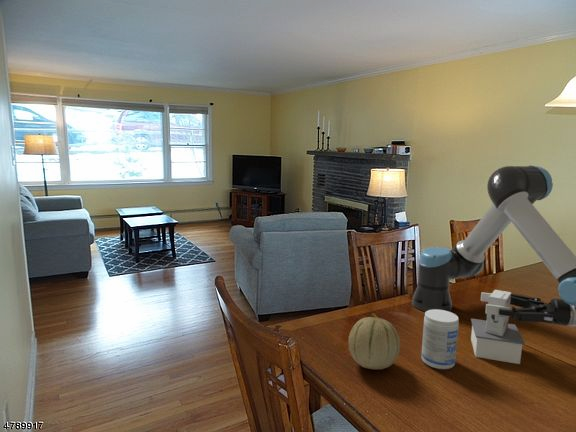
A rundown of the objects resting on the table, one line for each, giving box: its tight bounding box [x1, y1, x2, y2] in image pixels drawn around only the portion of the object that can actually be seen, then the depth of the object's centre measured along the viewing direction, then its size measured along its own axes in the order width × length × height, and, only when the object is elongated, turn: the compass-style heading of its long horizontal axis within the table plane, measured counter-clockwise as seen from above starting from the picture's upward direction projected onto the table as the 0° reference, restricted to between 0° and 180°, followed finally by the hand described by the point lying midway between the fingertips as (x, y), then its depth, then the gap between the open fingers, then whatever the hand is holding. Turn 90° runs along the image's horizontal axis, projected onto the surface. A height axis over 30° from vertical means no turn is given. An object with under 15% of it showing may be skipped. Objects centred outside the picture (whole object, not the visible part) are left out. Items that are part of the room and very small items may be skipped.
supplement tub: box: [420, 309, 460, 370], centre depth 115 cm, size 10×10×15 cm
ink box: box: [485, 289, 512, 336], centre depth 121 cm, size 9×5×12 cm, turn 141°
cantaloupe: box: [348, 313, 401, 370], centre depth 112 cm, size 15×15×15 cm
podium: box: [470, 318, 526, 365], centre depth 123 cm, size 13×13×7 cm
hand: (483, 302), depth 122 cm, fingers open, 10 cm apart
